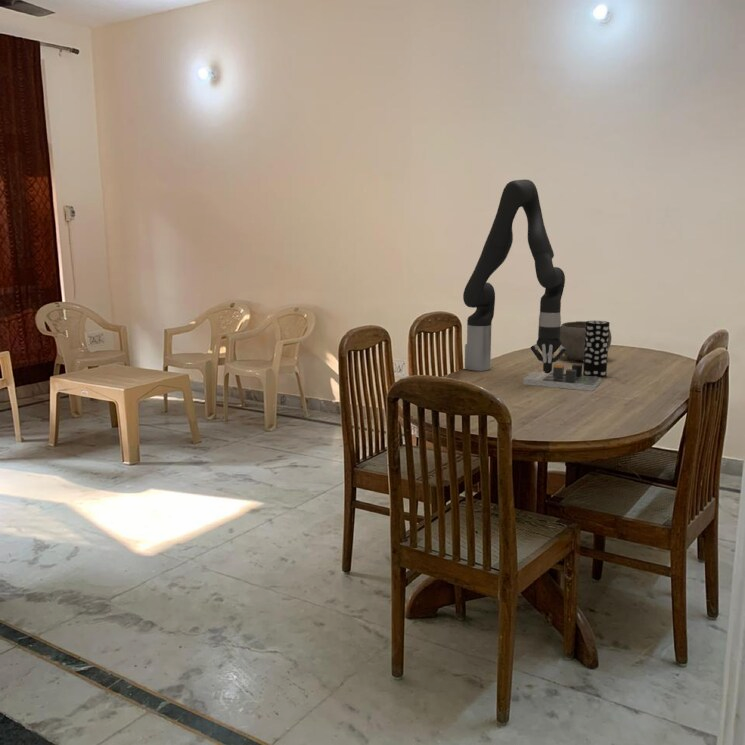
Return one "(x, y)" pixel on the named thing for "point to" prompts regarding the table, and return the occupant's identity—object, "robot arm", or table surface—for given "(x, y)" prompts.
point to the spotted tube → (596, 348)
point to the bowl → (575, 339)
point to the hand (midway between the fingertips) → (547, 372)
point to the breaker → (558, 370)
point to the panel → (564, 379)
